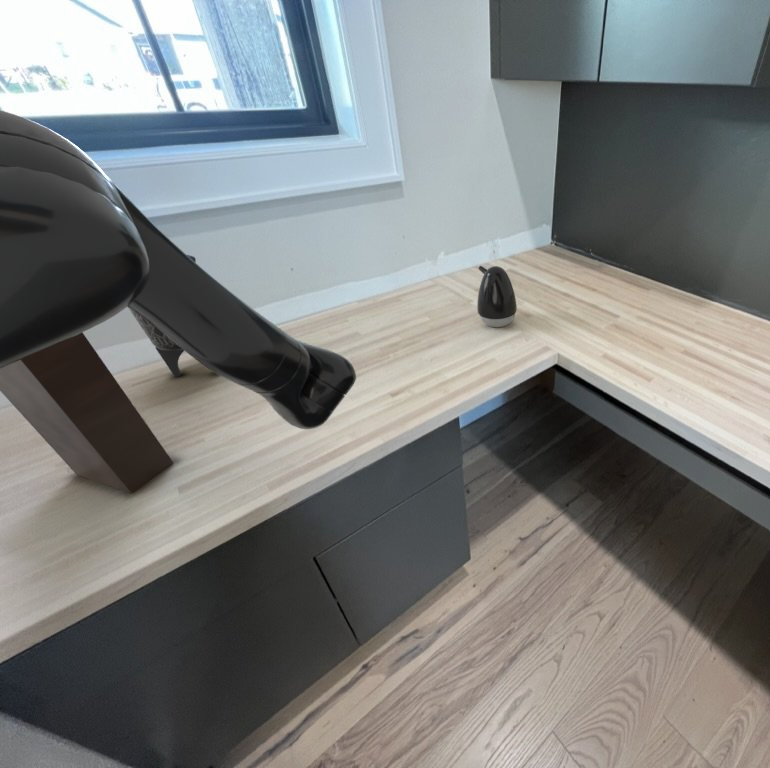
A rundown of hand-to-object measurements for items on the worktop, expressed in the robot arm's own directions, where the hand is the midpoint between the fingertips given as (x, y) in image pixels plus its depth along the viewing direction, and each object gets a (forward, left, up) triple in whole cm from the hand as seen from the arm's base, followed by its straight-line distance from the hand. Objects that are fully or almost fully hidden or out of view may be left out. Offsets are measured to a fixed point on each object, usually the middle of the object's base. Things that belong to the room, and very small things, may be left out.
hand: (84, 240), depth 52 cm
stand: (-10, +8, -36) cm, 39 cm away
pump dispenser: (+66, -15, -37) cm, 77 cm away
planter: (+13, +30, -37) cm, 49 cm away
